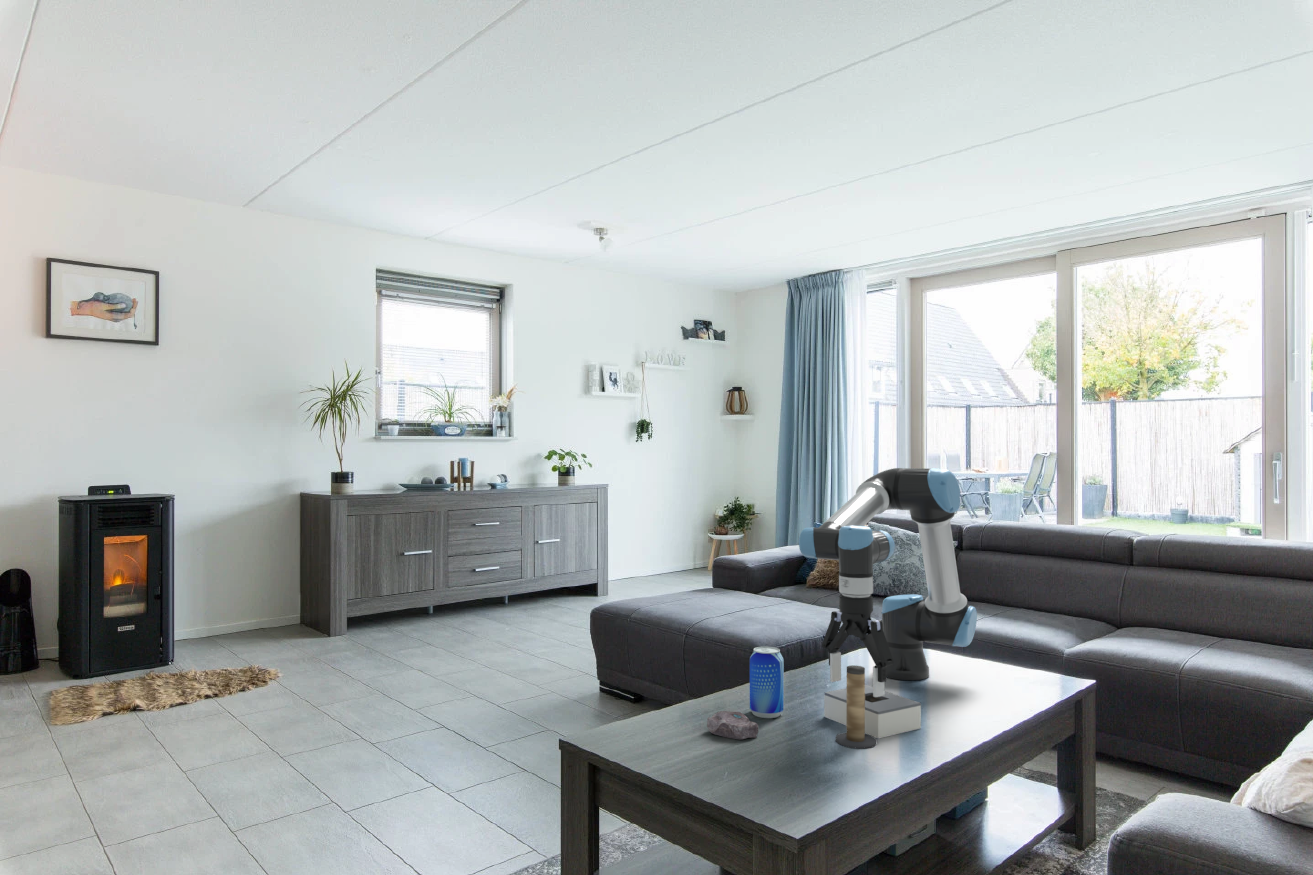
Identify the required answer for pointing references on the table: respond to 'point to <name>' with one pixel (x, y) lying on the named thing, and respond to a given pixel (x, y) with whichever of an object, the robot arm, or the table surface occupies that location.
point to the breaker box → (877, 712)
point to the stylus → (855, 703)
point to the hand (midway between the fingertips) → (856, 688)
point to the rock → (732, 725)
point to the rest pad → (864, 744)
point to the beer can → (766, 682)
